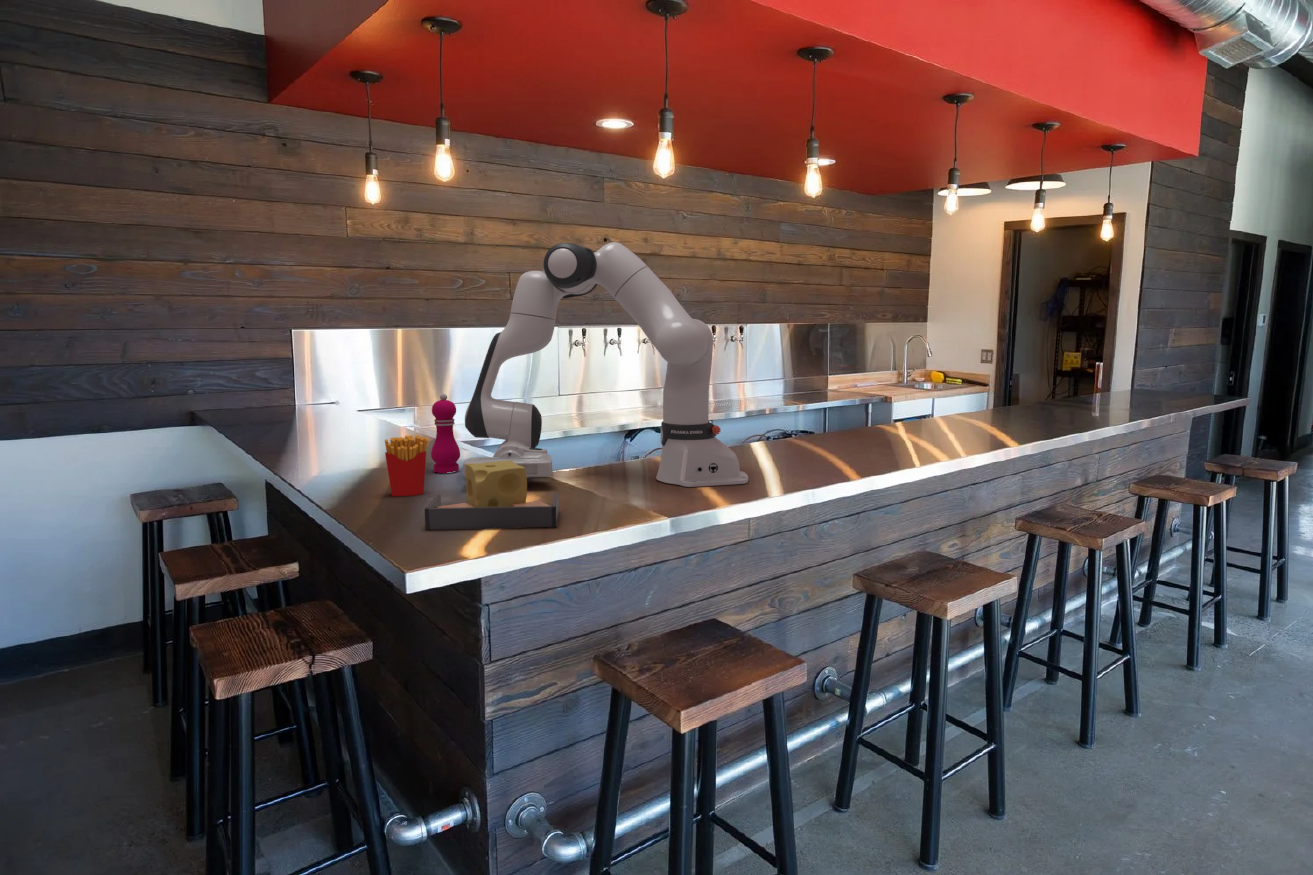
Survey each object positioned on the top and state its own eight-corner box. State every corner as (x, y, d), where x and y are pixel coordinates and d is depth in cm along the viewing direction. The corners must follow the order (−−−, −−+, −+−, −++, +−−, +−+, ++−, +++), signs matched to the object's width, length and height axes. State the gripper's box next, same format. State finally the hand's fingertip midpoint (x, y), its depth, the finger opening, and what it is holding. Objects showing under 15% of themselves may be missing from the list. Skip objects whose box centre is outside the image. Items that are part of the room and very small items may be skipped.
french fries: (387, 497, 175) (384, 439, 173) (386, 493, 179) (383, 436, 177) (430, 494, 178) (428, 436, 176) (428, 490, 182) (426, 434, 180)
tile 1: (478, 523, 155) (477, 508, 154) (448, 528, 151) (448, 513, 151) (465, 517, 160) (465, 502, 159) (437, 521, 156) (436, 506, 156)
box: (558, 511, 163) (558, 492, 162) (556, 527, 151) (555, 506, 151) (437, 513, 161) (436, 494, 160) (425, 529, 149) (424, 509, 148)
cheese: (476, 521, 155) (474, 471, 154) (464, 509, 165) (463, 462, 164) (528, 516, 160) (527, 467, 158) (514, 504, 169) (512, 458, 168)
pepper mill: (453, 474, 200) (450, 395, 196) (426, 473, 201) (423, 394, 198) (465, 469, 206) (462, 392, 203) (439, 468, 208) (436, 392, 205)
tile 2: (539, 514, 162) (539, 500, 161) (552, 521, 157) (552, 506, 156) (512, 519, 158) (511, 504, 158) (524, 525, 153) (524, 510, 153)
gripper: (466, 449, 188) (457, 460, 174) (553, 448, 190) (551, 459, 176) (467, 476, 189) (458, 488, 175) (553, 474, 191) (551, 487, 177)
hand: (505, 474), depth 176 cm, fingers closed
